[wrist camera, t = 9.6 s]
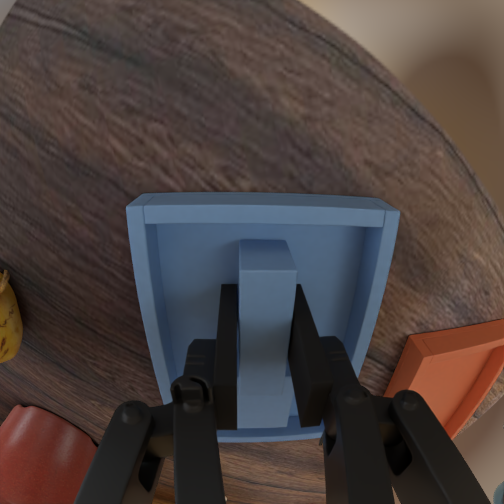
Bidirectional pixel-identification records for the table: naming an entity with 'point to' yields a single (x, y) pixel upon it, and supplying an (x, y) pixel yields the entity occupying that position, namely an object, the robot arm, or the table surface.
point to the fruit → (9, 320)
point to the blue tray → (227, 272)
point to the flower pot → (42, 458)
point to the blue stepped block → (265, 333)
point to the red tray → (451, 370)
